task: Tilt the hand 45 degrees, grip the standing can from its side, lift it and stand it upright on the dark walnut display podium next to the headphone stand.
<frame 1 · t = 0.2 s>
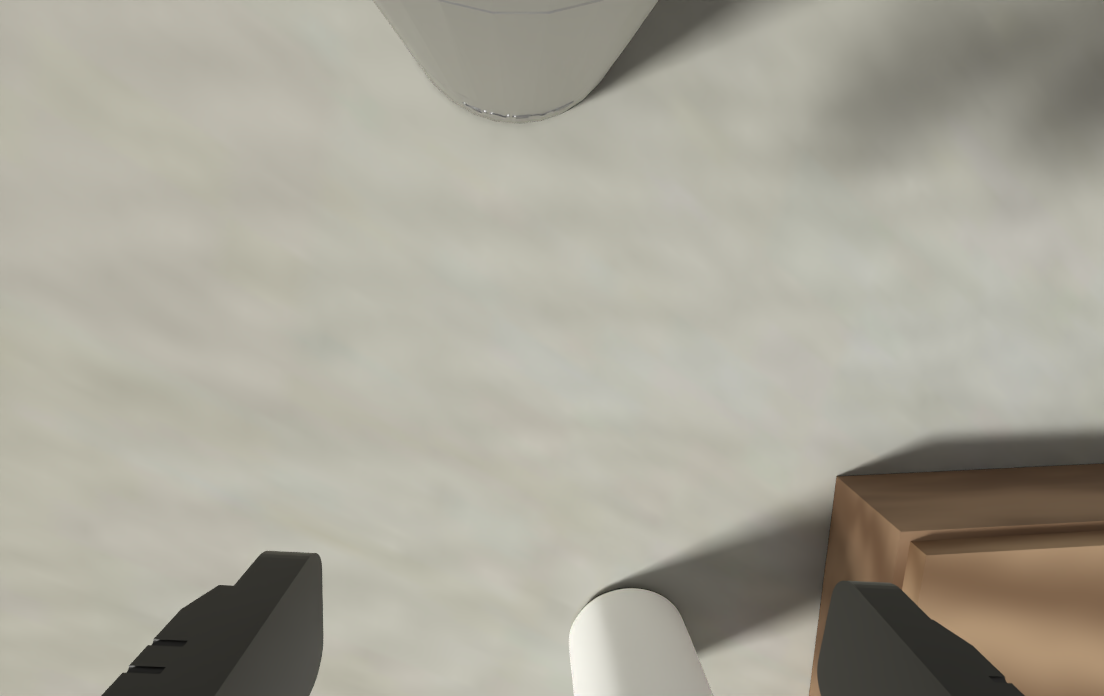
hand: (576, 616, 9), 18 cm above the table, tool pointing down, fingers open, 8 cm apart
podium: (970, 611, 32), on the table
can: (624, 629, 31), on the table
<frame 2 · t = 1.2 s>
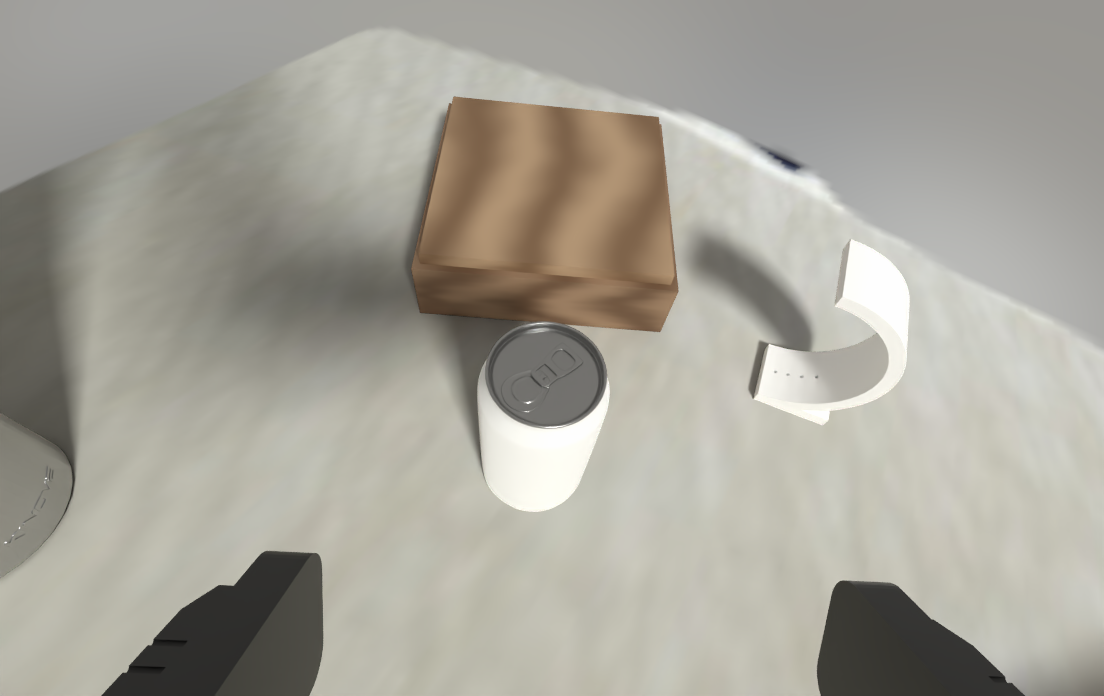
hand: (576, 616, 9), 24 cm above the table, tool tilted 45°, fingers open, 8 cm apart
podium: (546, 233, 46), on the table
headphone stand: (798, 390, 40), on the table
can: (532, 464, 36), on the table
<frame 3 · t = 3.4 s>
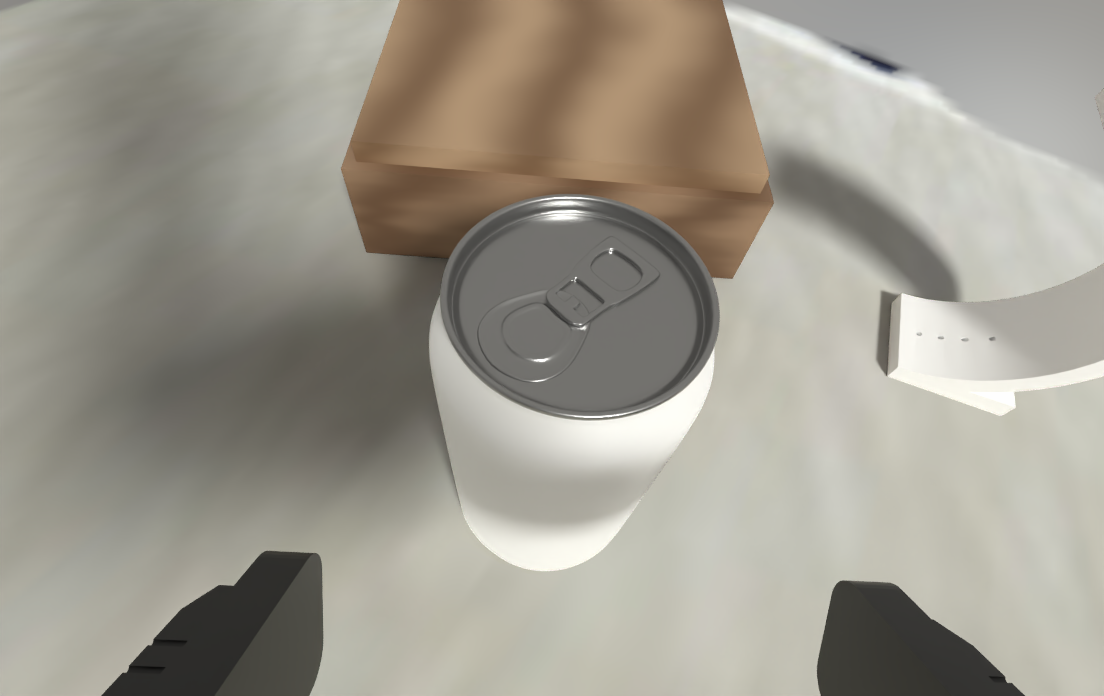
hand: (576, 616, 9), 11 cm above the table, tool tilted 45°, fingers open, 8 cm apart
podium: (556, 147, 32), on the table
headphone stand: (951, 362, 26), on the table
can: (543, 486, 21), on the table
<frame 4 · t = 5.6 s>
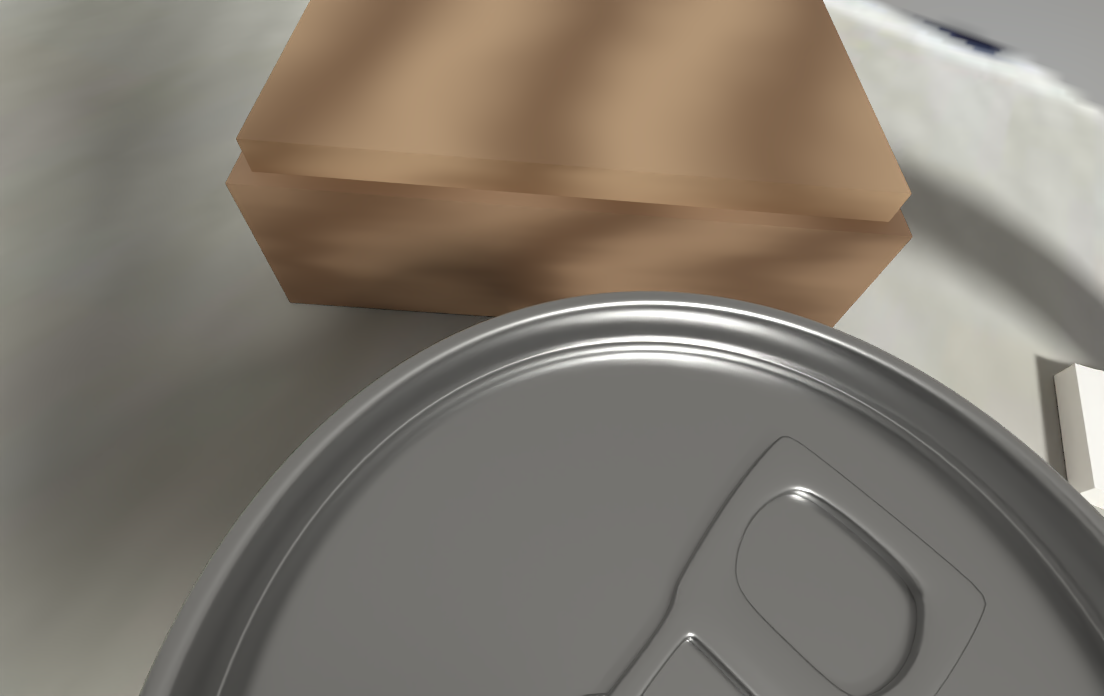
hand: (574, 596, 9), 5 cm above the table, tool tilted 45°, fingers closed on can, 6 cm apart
podium: (566, 148, 23), on the table
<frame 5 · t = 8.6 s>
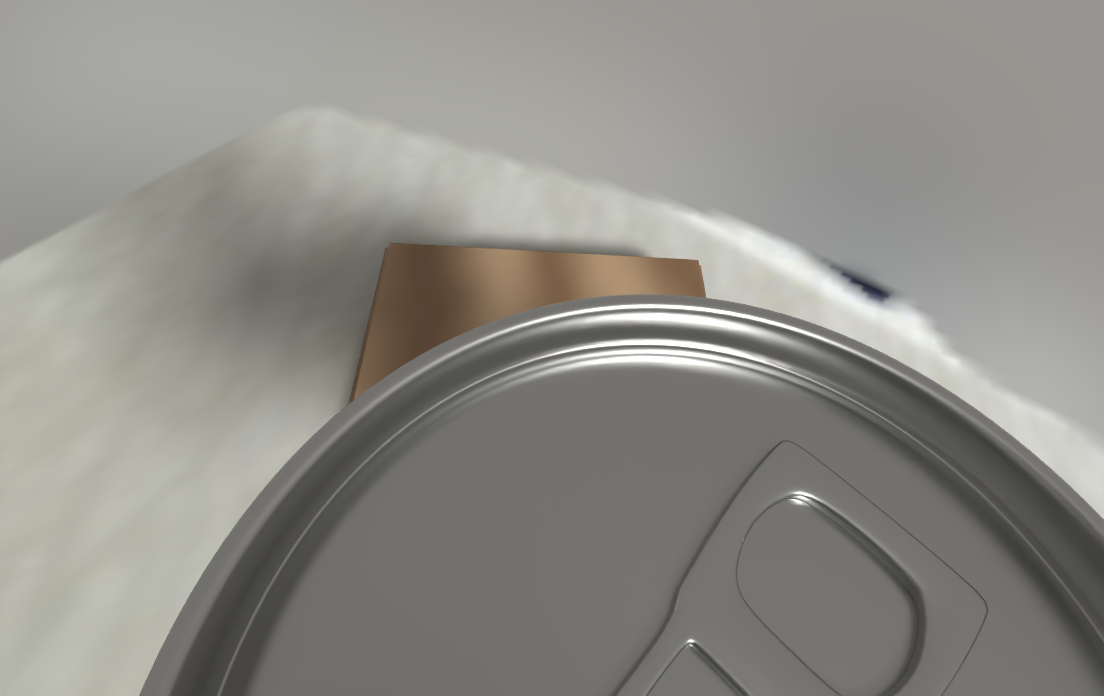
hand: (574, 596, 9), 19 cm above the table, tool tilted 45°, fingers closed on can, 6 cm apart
podium: (536, 438, 31), on the table
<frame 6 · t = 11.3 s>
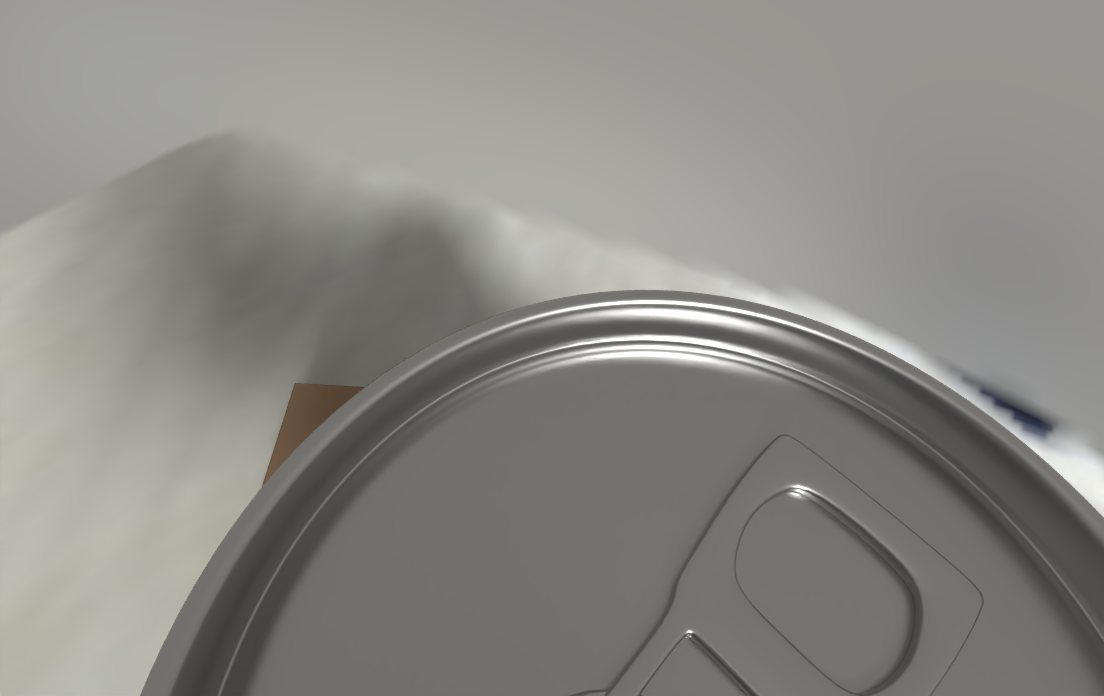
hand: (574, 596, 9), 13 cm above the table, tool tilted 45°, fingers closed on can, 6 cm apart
when the fingers open (13 cm above the table, at t = 11.6 s): can drops 1 cm, resting on podium.
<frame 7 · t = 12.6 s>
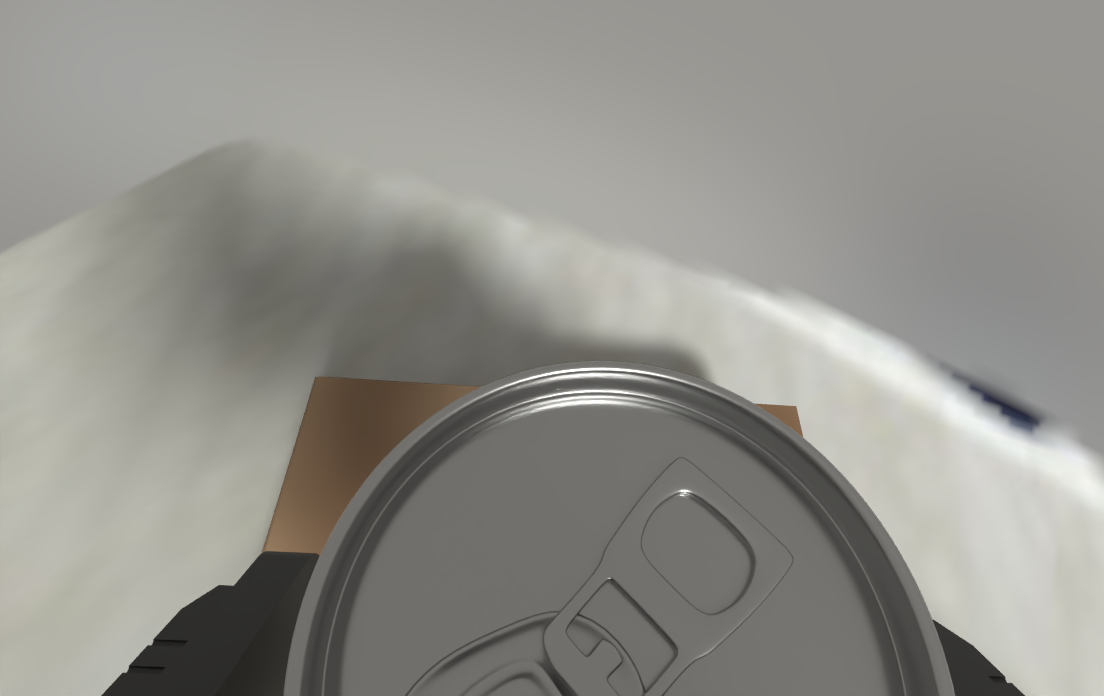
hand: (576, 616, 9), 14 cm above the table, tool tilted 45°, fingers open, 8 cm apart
podium: (541, 676, 20), on the table
can: (547, 679, 15), point 6 cm above the table, touching podium
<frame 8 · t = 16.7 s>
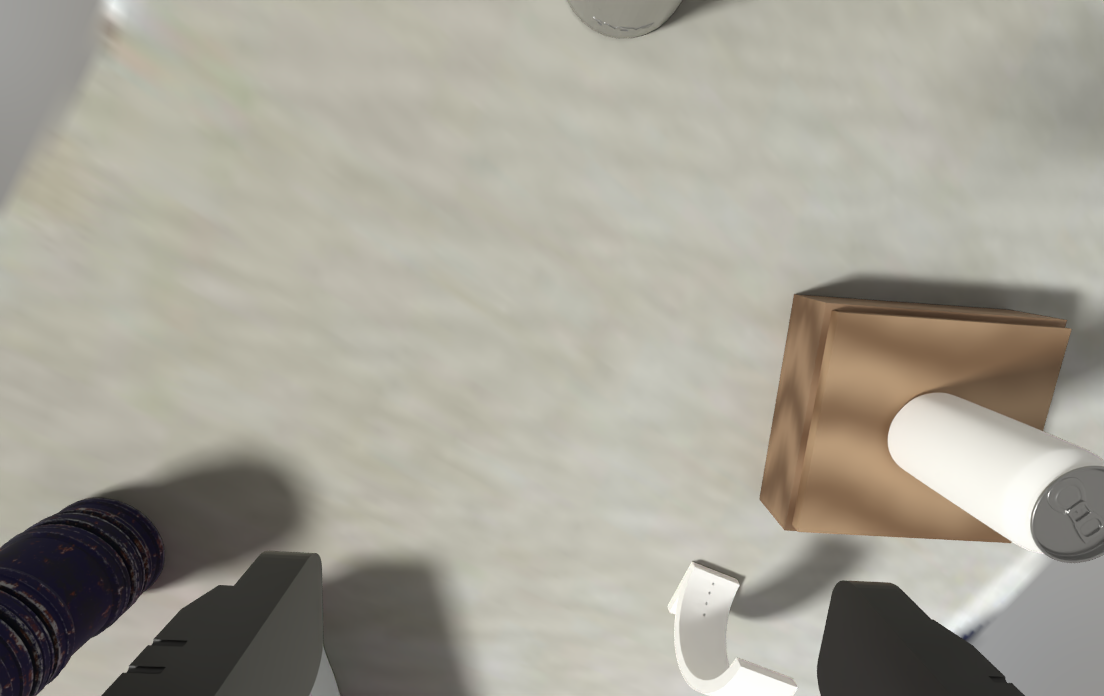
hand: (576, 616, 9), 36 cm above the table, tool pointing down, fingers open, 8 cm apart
podium: (880, 407, 47), on the table
storage jar: (108, 547, 48), on the table
headphone stand: (698, 595, 50), on the table
can: (925, 431, 41), point 6 cm above the table, touching podium
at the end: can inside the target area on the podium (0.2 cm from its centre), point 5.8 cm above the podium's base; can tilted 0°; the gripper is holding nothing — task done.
